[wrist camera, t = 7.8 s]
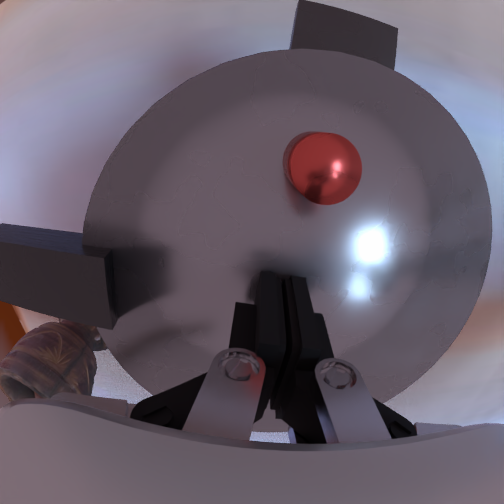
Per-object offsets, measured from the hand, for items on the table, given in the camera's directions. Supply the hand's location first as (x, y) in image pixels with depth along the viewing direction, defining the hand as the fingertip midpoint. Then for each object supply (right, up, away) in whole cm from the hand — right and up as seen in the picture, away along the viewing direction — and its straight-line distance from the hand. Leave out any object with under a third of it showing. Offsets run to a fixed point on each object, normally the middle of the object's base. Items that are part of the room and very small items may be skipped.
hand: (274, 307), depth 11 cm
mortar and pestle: (-17, -5, +17) cm, 24 cm away
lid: (-1, +1, +1) cm, 2 cm away
